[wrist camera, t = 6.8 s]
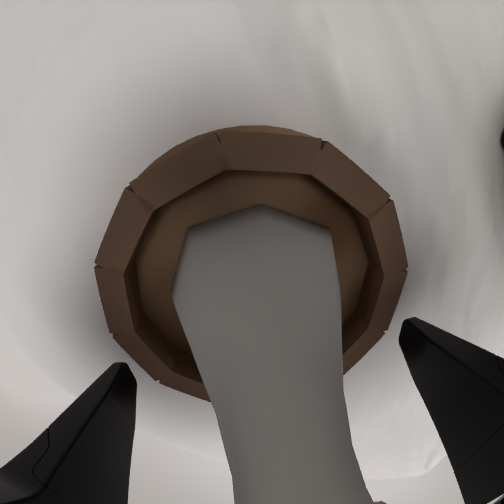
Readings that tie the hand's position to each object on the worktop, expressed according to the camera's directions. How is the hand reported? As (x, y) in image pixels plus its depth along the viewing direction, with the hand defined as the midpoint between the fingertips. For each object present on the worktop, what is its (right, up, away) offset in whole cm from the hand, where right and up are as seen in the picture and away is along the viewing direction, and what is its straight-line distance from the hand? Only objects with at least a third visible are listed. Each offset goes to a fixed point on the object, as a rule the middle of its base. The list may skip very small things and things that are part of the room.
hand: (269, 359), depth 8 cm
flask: (0, +2, +4) cm, 4 cm away
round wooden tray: (0, +2, +4) cm, 5 cm away
